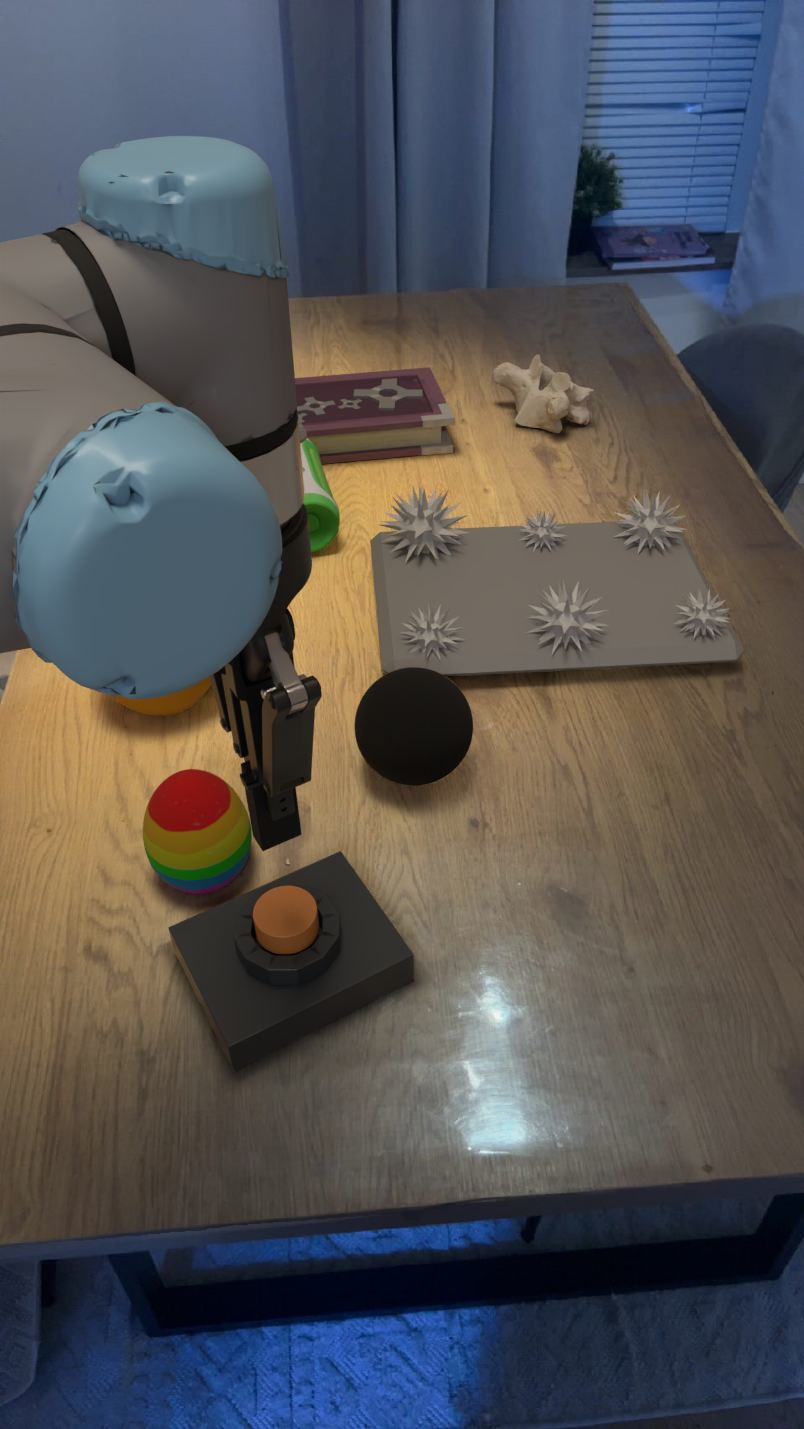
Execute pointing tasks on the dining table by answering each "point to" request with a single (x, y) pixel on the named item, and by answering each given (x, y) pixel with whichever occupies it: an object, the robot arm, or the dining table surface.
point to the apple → (168, 701)
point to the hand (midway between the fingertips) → (277, 835)
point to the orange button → (286, 920)
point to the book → (374, 415)
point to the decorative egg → (196, 832)
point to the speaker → (318, 499)
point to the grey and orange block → (291, 963)
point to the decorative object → (543, 395)
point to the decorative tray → (543, 594)
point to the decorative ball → (413, 726)
